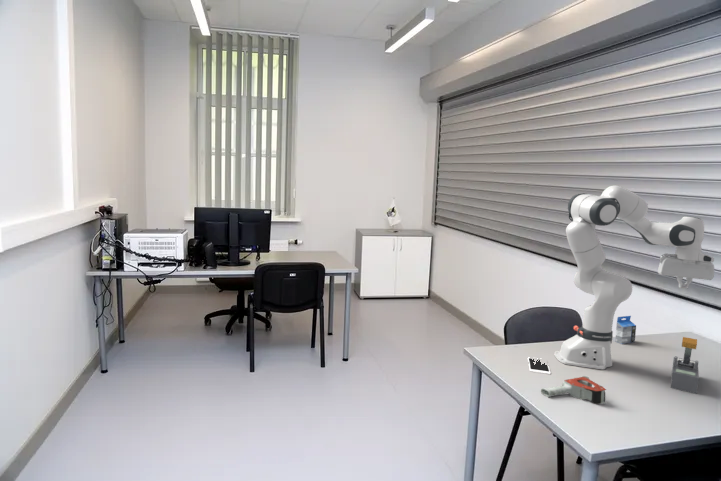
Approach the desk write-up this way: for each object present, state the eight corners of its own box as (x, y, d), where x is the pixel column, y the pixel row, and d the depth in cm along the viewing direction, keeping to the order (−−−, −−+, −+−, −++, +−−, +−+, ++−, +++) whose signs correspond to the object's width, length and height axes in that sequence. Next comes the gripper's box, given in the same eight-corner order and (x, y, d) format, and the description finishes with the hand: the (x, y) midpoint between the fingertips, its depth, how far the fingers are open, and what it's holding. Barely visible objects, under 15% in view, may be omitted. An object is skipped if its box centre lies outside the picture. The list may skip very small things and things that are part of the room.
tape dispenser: (539, 400, 165) (602, 414, 154) (539, 386, 165) (603, 399, 154) (550, 381, 180) (609, 392, 169) (550, 368, 179) (609, 378, 168)
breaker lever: (678, 361, 184) (681, 336, 176) (693, 364, 181) (698, 339, 174) (677, 366, 182) (681, 341, 175) (693, 369, 179) (697, 344, 172)
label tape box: (621, 344, 223) (624, 319, 222) (614, 341, 227) (617, 316, 225) (634, 342, 226) (637, 317, 225) (627, 339, 230) (630, 315, 228)
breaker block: (671, 370, 192) (674, 349, 191) (695, 376, 188) (698, 354, 187) (670, 387, 176) (673, 364, 175) (696, 393, 172) (699, 370, 170)
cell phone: (529, 372, 186) (529, 370, 186) (527, 358, 202) (527, 356, 201) (550, 375, 184) (550, 373, 184) (546, 360, 199) (546, 359, 199)
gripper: (664, 253, 196) (660, 286, 196) (718, 258, 192) (713, 292, 193) (657, 252, 202) (653, 284, 203) (709, 257, 199) (705, 289, 200)
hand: (683, 288), depth 198 cm, fingers closed
